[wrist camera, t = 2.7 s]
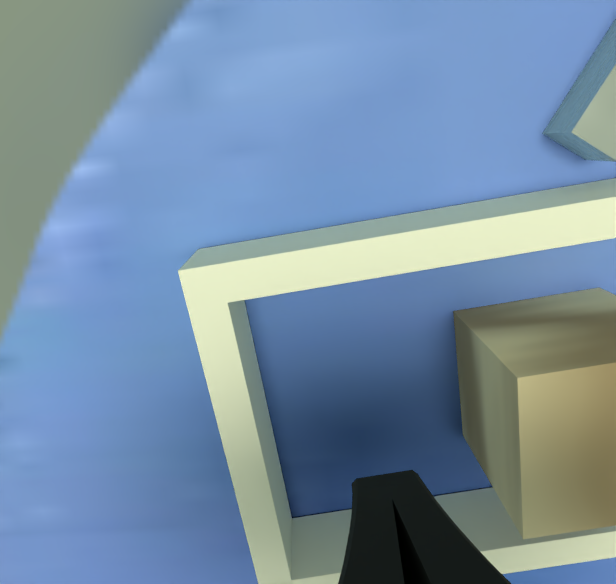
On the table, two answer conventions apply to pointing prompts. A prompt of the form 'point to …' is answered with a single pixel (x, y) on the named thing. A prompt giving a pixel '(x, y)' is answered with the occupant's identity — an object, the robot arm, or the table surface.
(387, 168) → the table surface
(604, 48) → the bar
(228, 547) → the table surface
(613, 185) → the u-shaped bracket
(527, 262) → the table surface
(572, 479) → the block
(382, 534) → the robot arm
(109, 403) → the table surface
